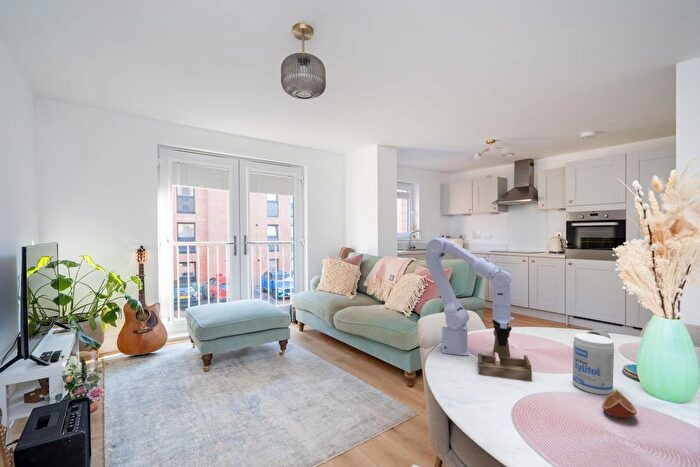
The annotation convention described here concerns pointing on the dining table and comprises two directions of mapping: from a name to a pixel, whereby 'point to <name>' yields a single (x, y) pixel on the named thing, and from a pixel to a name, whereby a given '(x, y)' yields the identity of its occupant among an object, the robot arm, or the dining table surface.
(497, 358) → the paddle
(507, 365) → the open box
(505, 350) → the olive bulbous piece
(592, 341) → the supplement tub
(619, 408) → the brown wedge piece
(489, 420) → the dining table surface
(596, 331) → the ceramic mug
